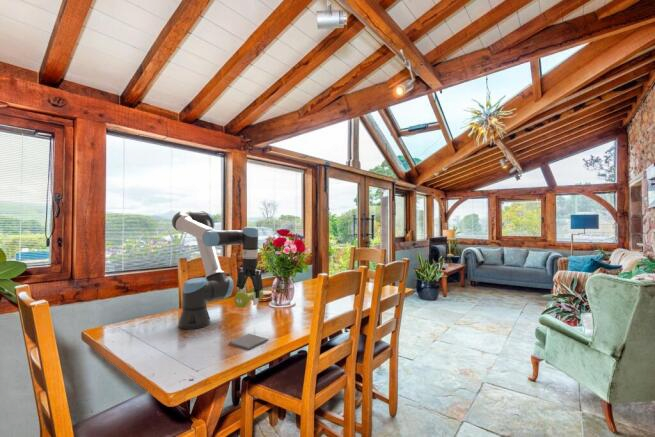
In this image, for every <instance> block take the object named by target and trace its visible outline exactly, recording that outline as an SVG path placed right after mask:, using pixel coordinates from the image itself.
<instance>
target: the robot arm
mask: <svg viewBox="0 0 655 437" xmlns="http://www.w3.org/2000/svg"><path fill="white" fill-rule="evenodd" d="M215 225H216V224H215V217H214V215H213V214H212V213H211V212H209V211H205V210H199V211H198V210H194V211H193V210H181V211H178V212H177V213H175V214H174V215H173V216H172V219H171V226H172V227H173V229H175V231H177V232H180V233H185V234H188V235H190V236H192V237H194V238H195V239H196V243H197V247H198V250H199V253H200V258H201V261H202V264H203V268H204V272H205V277H203V276H202V277H194V278H190V279H188V280H187V279H186V280H185V282H183V284H182V291H181V292H182V308H181V309H182V310H181V313H180V317H179V319H178V328H180V329H183V330H184V329H185V330H196V329H201V328H204V327H206V326H208V325H210V324H211V318H210V315H209V311H208V309H207V308H208V304H207V303H208V302H212V301H213V302H214V301H217V300H224V299H226V298H229V297H230V296H231V295H232V293H233V290H234V281H233V279H232V277H231V276H228V275H227V273H226V272H225V271H224V270H222V266H221V264H220V263H221V262H220V260H219V256H218V252H217V249H216V247H220V246H221V247H222V246H223V247H224V246H236V245H237V246H242V249H241V250H242V251H241V252H242V255H241V256H242V259H241V261H242V262H241V265H242V267H239V268H238V270H237V272H238V273H237V274H238V275H237V280H236V288H238V289H239V291H238V292H245V293H246V288H245V287H246V286H245V285H246V283H247V280H248V278H250V280H251V283H252V287H254V290H255V291H254V292H253V300H252V302H253V306H257V305H259V301H258V298H259V291H261V290H262V291H264V289H263V288H264V287H263V278H262V272H263V271H262V270H261V269H260V270H259V269H258V268H257V266H258V264H259V263H258V262H259V259H258V256H259V251H258V249H259V229H258V227H256V226H243V228H242V229H241V230H239V229H231V230H230V229H229V230H226V229H224V230H219V229H218V230H217V229H215V228H214V227H215Z"/></svg>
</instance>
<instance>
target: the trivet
mask: <svg viewBox="0 0 655 437" xmlns="http://www.w3.org/2000/svg"><path fill="white" fill-rule="evenodd" d="M268 341H269V338H266V337H263V336H259V335H255V334H252V333H247V334H244V335H242V336H240V337H237V338H234V339H233V340H230V341H229V342H228V344H229V345H231V346H235V347H237V348H240V349H244V350H247V351H250V350H253V349H254V348H256V347H258V346H261V345H262V344H265V343H267V342H268Z"/></svg>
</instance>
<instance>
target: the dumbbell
mask: <svg viewBox="0 0 655 437" xmlns="http://www.w3.org/2000/svg"><path fill="white" fill-rule="evenodd" d="M254 291H255V290H254V286H252V287H251V289H250V290H249V293H247V292H246V291H245V292H239V291H238V292H236V293H235V295H234V297H233V302H234V304H235V307H237V308H240V309H241V308H242V309H244V308H246V307H247V306H248V305H249V302H250V300H251V301H253V292H254ZM264 294H265V293H264V290H261V291H259V298H258V302H260V301H261V300H263V297H264Z"/></svg>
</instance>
